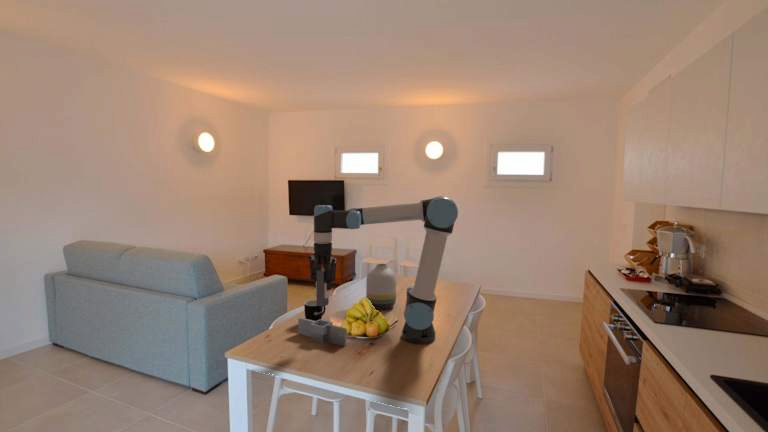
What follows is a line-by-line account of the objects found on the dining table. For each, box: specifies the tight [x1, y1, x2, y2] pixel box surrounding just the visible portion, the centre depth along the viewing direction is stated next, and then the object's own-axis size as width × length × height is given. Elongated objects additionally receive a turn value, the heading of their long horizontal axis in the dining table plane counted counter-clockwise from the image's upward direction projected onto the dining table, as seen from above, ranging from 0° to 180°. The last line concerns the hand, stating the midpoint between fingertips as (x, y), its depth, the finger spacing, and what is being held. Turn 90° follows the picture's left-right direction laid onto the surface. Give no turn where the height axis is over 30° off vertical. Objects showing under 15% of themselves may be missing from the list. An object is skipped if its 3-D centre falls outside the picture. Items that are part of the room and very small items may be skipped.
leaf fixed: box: [311, 324, 348, 347], centre depth 155 cm, size 16×6×7 cm, turn 63°
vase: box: [365, 263, 398, 310], centre depth 202 cm, size 17×17×24 cm
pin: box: [316, 268, 330, 308], centre depth 152 cm, size 4×4×15 cm
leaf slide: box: [297, 317, 333, 338], centre depth 159 cm, size 16×7×7 cm, turn 63°
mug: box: [303, 299, 327, 321], centre depth 177 cm, size 12×9×10 cm
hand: (322, 296), depth 152 cm, fingers closed on pin, 4 cm apart
